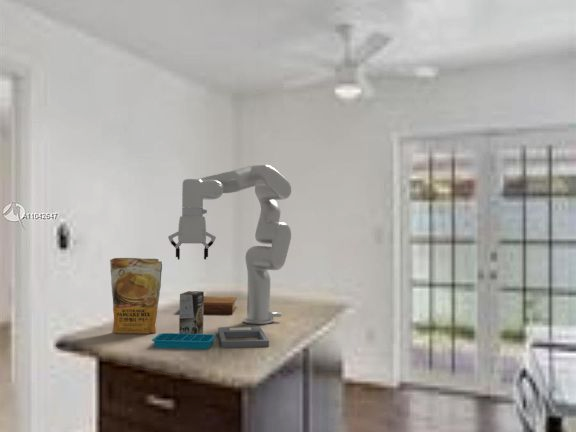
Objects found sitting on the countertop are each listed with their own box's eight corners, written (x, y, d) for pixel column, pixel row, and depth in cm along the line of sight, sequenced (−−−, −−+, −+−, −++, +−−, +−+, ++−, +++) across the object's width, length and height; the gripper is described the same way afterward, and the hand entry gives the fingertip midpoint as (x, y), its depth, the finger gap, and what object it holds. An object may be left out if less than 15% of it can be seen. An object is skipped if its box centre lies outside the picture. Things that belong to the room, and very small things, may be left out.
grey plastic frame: (259, 331, 225) (259, 325, 225) (268, 346, 201) (268, 340, 201) (217, 332, 222) (218, 326, 222) (222, 347, 198) (222, 341, 198)
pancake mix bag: (111, 330, 224) (112, 257, 224) (161, 330, 224) (162, 257, 224) (106, 334, 217) (107, 258, 217) (158, 334, 217) (159, 259, 217)
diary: (181, 315, 261) (181, 302, 261) (188, 308, 280) (188, 296, 280) (232, 315, 261) (232, 302, 261) (236, 308, 279) (236, 296, 279)
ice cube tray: (210, 350, 195) (210, 341, 195) (150, 349, 196) (150, 340, 196) (216, 343, 206) (216, 334, 206) (160, 341, 208) (160, 333, 208)
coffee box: (195, 339, 210) (195, 294, 210) (178, 338, 212) (179, 293, 211) (203, 334, 219) (204, 291, 219) (187, 333, 221) (188, 290, 220)
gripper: (215, 212, 220) (215, 258, 220) (168, 212, 217) (168, 258, 218) (216, 213, 213) (216, 260, 213) (168, 212, 210) (167, 260, 210)
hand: (191, 259), depth 215 cm, fingers open, 9 cm apart
